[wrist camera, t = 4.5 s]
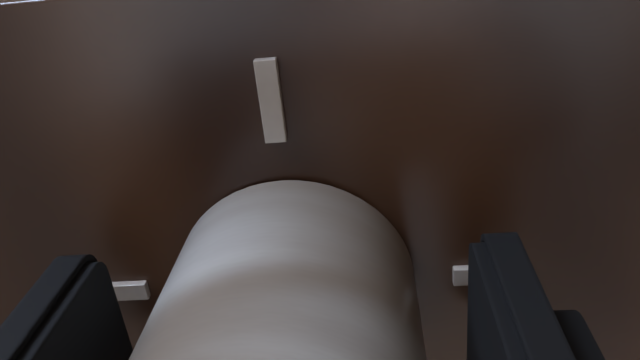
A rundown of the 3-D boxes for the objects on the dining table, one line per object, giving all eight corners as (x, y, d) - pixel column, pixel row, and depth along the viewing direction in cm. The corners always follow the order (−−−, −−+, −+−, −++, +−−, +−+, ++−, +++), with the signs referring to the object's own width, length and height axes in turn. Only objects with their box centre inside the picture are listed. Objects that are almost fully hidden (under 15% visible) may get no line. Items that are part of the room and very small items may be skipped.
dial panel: (657, -82, 11) (765, -71, 8) (592, 369, 16) (644, 476, 13) (-59, -11, 12) (-186, 21, 9) (87, 384, 17) (34, 484, 14)
